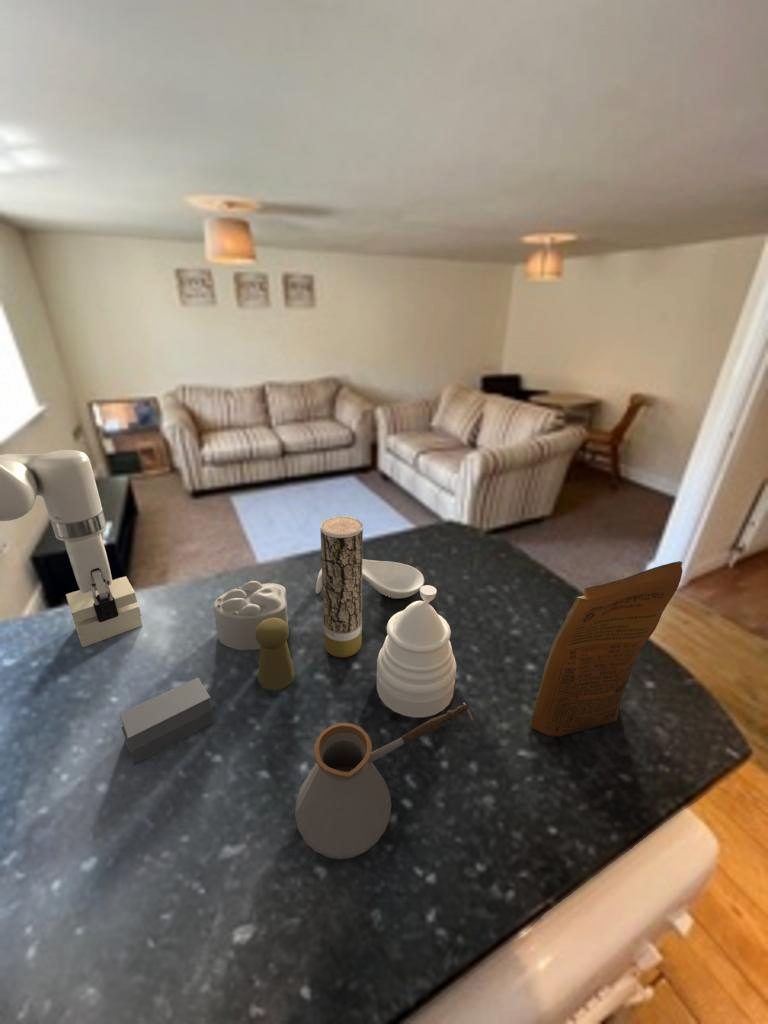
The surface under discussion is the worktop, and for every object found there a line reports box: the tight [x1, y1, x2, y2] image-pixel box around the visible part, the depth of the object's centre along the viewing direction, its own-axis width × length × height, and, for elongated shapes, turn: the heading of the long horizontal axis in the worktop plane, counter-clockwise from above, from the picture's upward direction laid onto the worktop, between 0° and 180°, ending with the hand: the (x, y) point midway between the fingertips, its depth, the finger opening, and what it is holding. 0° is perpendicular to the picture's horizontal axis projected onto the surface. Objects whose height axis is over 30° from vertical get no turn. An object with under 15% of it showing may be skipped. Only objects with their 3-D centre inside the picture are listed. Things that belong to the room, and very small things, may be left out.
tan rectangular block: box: [72, 601, 143, 649], centre depth 85 cm, size 10×7×4 cm
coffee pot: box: [294, 702, 474, 860], centre depth 53 cm, size 21×12×15 cm, turn 106°
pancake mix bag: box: [528, 560, 684, 738], centre depth 63 cm, size 7×19×28 cm, turn 106°
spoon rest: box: [314, 558, 425, 599], centre depth 97 cm, size 24×12×7 cm, turn 91°
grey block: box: [119, 677, 215, 765], centre depth 64 cm, size 11×5×5 cm, turn 130°
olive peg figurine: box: [255, 618, 296, 691], centre depth 73 cm, size 6×6×11 cm
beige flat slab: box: [65, 575, 138, 623], centre depth 83 cm, size 10×7×2 cm
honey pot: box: [376, 584, 457, 718], centre depth 71 cm, size 13×13×18 cm
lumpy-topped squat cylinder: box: [212, 580, 290, 651], centre depth 84 cm, size 10×13×9 cm
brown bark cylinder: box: [319, 515, 364, 658], centre depth 77 cm, size 7×7×25 cm
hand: (104, 607), depth 84 cm, fingers closed on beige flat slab, 7 cm apart
